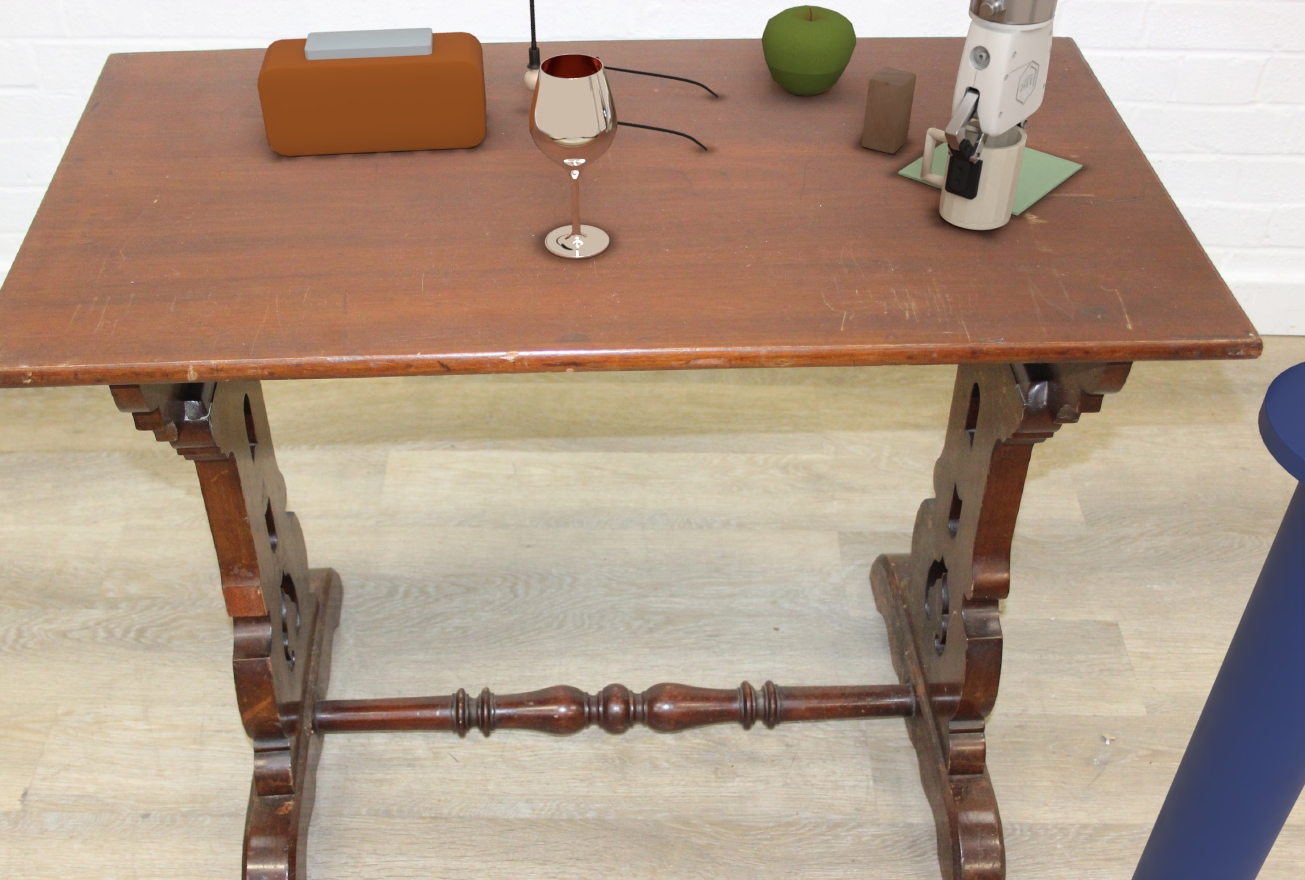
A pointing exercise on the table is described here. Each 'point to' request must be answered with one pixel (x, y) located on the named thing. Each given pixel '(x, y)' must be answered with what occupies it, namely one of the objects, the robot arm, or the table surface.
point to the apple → (808, 48)
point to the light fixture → (532, 54)
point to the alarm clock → (373, 92)
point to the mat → (1034, 176)
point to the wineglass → (573, 136)
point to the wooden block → (888, 109)
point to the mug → (981, 179)
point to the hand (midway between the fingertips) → (980, 179)
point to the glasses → (668, 78)
